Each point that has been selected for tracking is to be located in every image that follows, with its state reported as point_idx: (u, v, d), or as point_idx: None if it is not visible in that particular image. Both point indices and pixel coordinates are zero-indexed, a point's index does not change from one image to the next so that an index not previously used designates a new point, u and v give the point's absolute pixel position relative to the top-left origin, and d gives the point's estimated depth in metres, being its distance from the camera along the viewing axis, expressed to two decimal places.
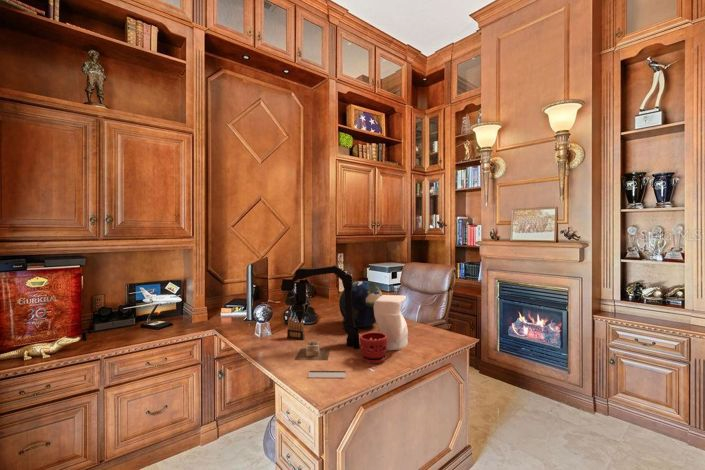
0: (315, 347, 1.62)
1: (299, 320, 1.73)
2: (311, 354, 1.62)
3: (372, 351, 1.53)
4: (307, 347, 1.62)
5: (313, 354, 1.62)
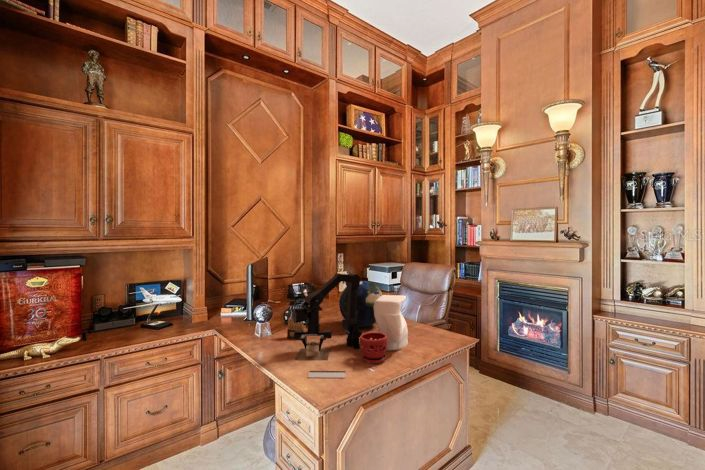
0: (315, 347, 1.62)
1: None
2: (311, 354, 1.62)
3: (372, 351, 1.53)
4: (307, 347, 1.62)
5: (313, 354, 1.62)
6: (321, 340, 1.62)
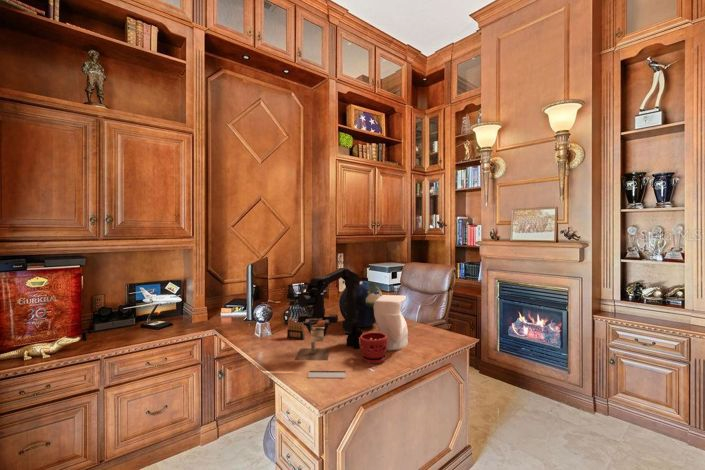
0: (320, 332, 1.55)
1: None
2: (315, 339, 1.55)
3: (372, 351, 1.53)
4: (311, 332, 1.55)
5: (318, 339, 1.55)
6: (326, 325, 1.55)
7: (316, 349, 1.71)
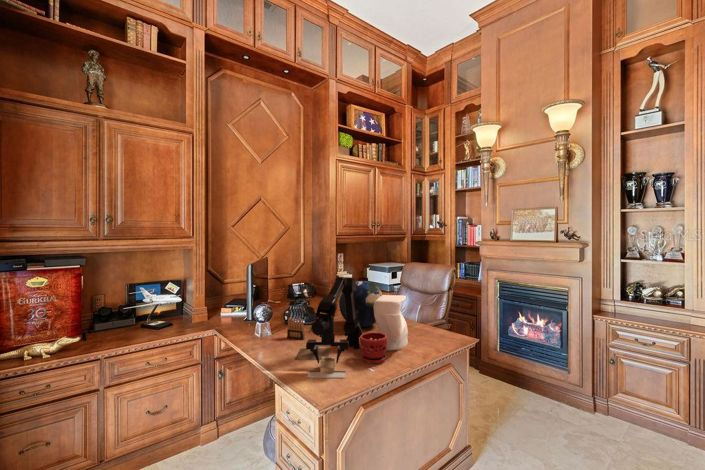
0: (330, 363, 1.44)
1: None
2: (326, 371, 1.44)
3: (372, 351, 1.53)
4: (321, 363, 1.44)
5: (328, 371, 1.44)
6: (339, 351, 1.44)
7: None
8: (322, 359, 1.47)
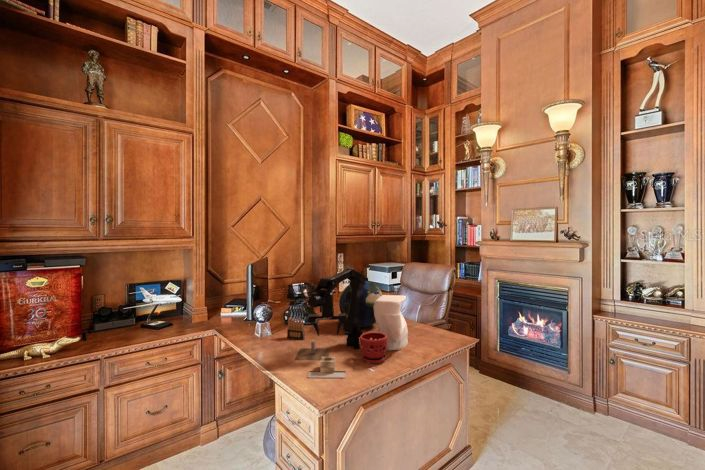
0: (330, 363, 1.44)
1: None
2: (326, 371, 1.44)
3: (372, 351, 1.53)
4: (321, 363, 1.44)
5: (328, 371, 1.44)
6: (339, 324, 1.58)
7: (316, 349, 1.71)
8: (322, 359, 1.47)
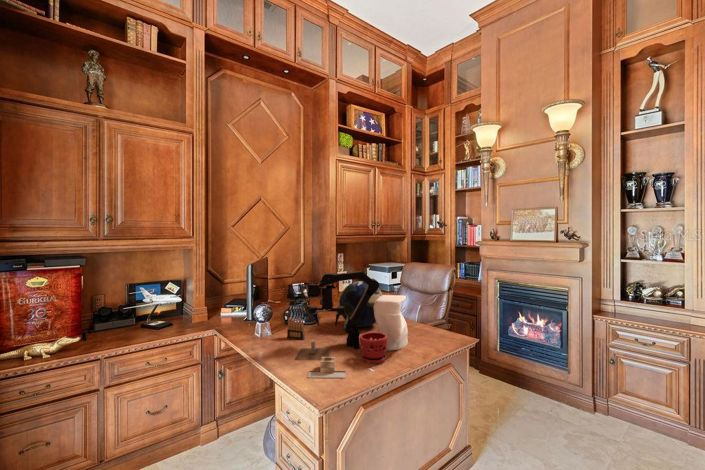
0: (330, 363, 1.44)
1: None
2: (326, 371, 1.44)
3: (372, 351, 1.53)
4: (321, 363, 1.44)
5: (328, 371, 1.44)
6: (337, 315, 1.73)
7: (316, 349, 1.71)
8: (322, 359, 1.47)
